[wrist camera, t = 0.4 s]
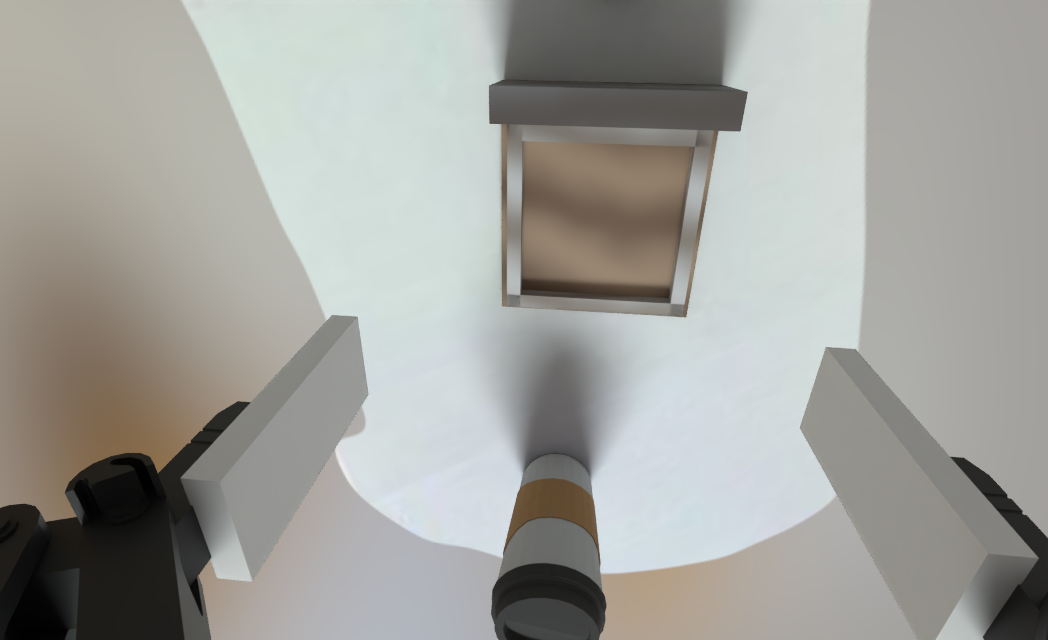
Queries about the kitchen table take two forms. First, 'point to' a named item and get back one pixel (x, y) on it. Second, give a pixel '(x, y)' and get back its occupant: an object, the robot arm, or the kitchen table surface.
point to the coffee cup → (551, 558)
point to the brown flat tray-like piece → (606, 190)
